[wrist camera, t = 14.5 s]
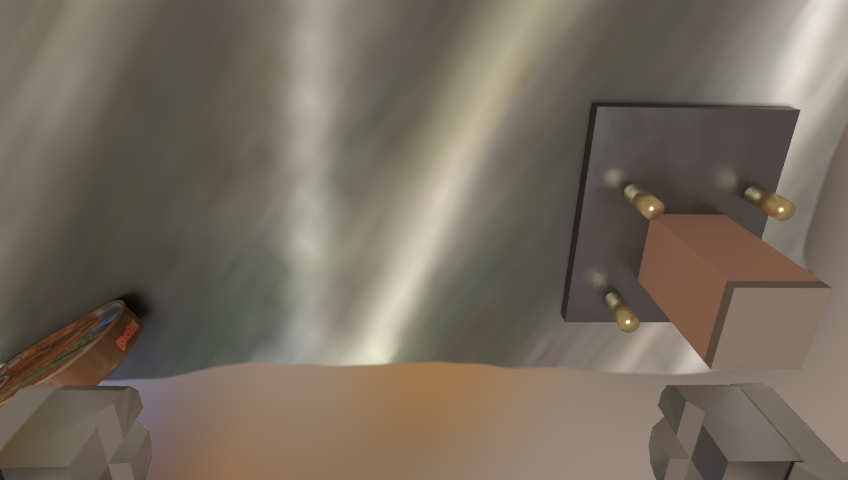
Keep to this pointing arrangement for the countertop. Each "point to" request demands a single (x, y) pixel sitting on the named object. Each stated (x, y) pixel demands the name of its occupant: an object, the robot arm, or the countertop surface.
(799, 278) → the block
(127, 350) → the tin
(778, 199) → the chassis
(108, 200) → the countertop surface
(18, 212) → the countertop surface
